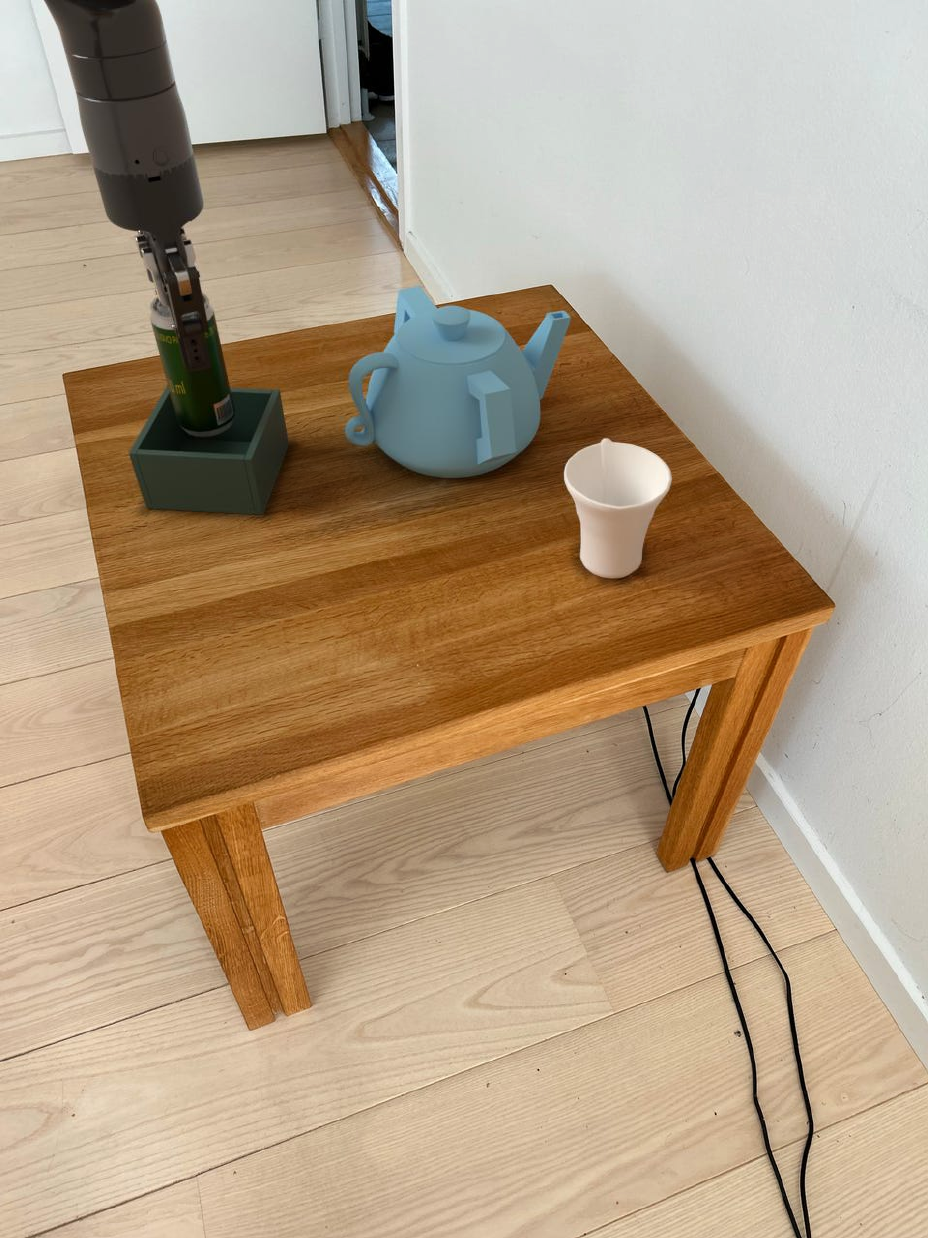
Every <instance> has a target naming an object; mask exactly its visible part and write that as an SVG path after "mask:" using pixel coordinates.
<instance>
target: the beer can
mask: <svg viewBox="0 0 928 1238" xmlns="http://www.w3.org/2000/svg"><path fill="white" fill-rule="evenodd" d="M166 294H168V292H167V293H166ZM202 296H203V301H204V306H205V312H206V317H207V321H208V323H209V327H208V328H209V332H205V333H204V335H205V340H206V344H207V348H208V353H209V357H210V362H211V365H210V367H209V368H207V369H204V370H199V371H195V372H188V371H187V370H186V369H185V367H184V364H183V360H182V356H181V352H180V348H179V344H178V340H177V336H176V333H175V331H173V329H172V326H171V325H173V324H172V321H171V317H170V314H169V310H168V308H167V306H164V305H162V304H161V303H160V301H159V298H158V296H156V297H154V298H153V299H152V301H151V302H150V304H149V309H150V317H149V321H150V324H151V327H152V330H153V335H154V339H155V342H156V348H157V350H158V354H159V357H160V362H161V365H162V368H163V373H164V376H165V380H166V385H168V388H169V392H170V395H171V399H172V403H173V407H174V410H175V414H176V418H177V421H178V423H179V425H180V426H181V427H182V428H183V430H184V431H186V432H187V433H188V434H190V435H193V436H199V437H207V436H213V435H217V434H220V433H222V432H224V431H226V430H227V429H228V428H229V427H230V426H231V425H232V423H233V420H234V417H235V408H234V403H233V399H232V394H231V389H230V388H231V385H230V381H229V375H228V370H227V367H226V362H225V356H224V352H223V348H222V344H221V338H220V333H219V329H218V324H217V319H216V314H215V310H214V308H213V306H212V304H211V303H210V299H209V297H208V295H207V294H206V293H203V292H202ZM193 315H194V312H191V313H186V314H183V315H182V317H181V318H183V317H188V316H193Z"/></svg>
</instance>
